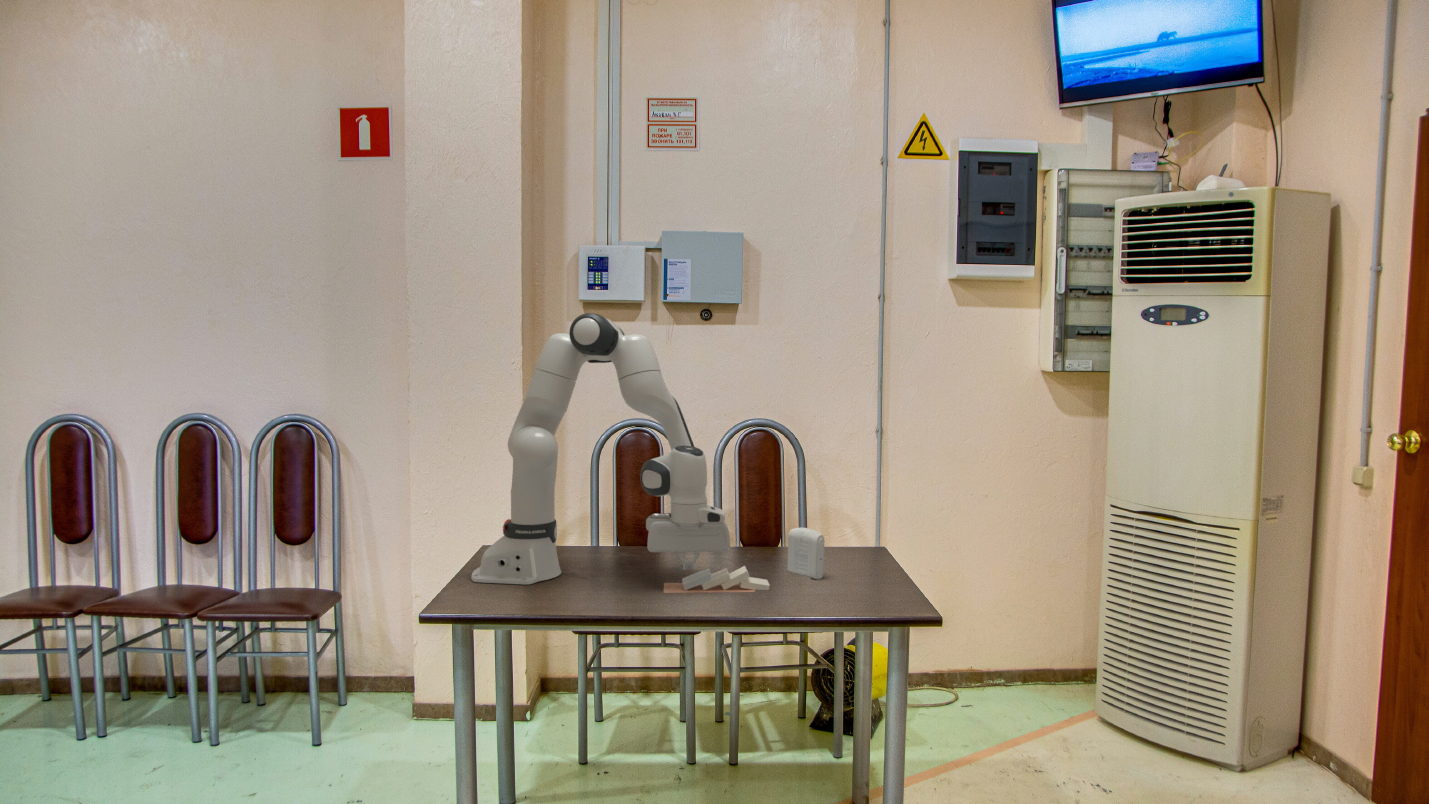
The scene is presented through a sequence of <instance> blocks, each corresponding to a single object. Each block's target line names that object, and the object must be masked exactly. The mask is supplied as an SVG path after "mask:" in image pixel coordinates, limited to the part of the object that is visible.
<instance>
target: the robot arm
mask: <svg viewBox="0 0 1429 804" xmlns="http://www.w3.org/2000/svg"><path fill="white" fill-rule="evenodd" d="M586 362H587V363H590V364H606V363H607V364H608V363H612V364H613V366H614V368H615V371H616V377H617V381H618V383H619V389H620V390H619V391H620V393H621V397H622V398H623V400H624V402H625V404H626V405H627V406H628V407H630V408H631V409H632V410H634V411H635V412H638V413H641V414H643V415H645V416H649V417H650V418H652V419H654V420H655V421H657V422H658V423H659V424H660V426H661V427H662V429H663V431H664V433H665V436H666V439H667V441H668V445H669V447H670V450H671V451H670V452H668V453H666V454H664V455H660V456H658V457H654V458H651V459H648V460H646V461H645V462H644V463H643V465H642V467H641V469H640V473H639V477H640V478H639V479H640V484H641V486H642V489H643V491H644V492H646V493H647V495H649V496H652V497H665V496H668V497H670V512H669V513H652V514H651V515H649V516H647V518H646V519H645V528H646V530H647V532H648V535H647V547H646V548H647V550H648V551H649V552H650V553H678V559H680V561H681V563H682V570H683V571H687V570H690V571H693V570H694V571H695V569H696V567H695V566H696V565H695V564H696V563H697V560H698V559H699V557H700V553H702V552H705V553H707V552H711V553H713V552H718V553H719V552H722V553H723V552H728V551H730V549H731V537H730V531H729V526H728V524H727V522H726V521H725V520H726V513H725V511H724V510H723V509H721V508H718V507H715V506H713V505H708V499H707V494H706V491H707V489H706V488H707V486H708V470H707V469H708V467H707V459H706V455H705V453H704V452H703V450H702V449H700V448H698V447H696V446H695V445H694V441H693V439H692V437H691V434H690V432H689V431H690V430H689V428H688V426H687V422H686V420H685V417H684V415H683V412H682V409H681V407H680V405H679V403H678V401H677V399H676V398H675V396H673V395H672V393H671V392H670V391H669V390H668V387H667V386H666V383H665V381H664V377H663V376H662V374H663V373H662V372H661V367H660V363H659V361H658V358H657V354H656V352H655V350H654V346H653V345H652V342H651V341H650V339H649V338H648V337H647V336H646V335H643V334H639V333H631V334H625V333H624V331H623V330H622V328H620V327H619V326H618V325H617V324H616V323H615V322H613V320H611V319H609V318H607V317H604V316H602V315H601V314H598V313H594V312H586V313H583V314H580V315H578V316H577V317H575V319H574V320H573V321H572V322H571V325H570V326H569V333H564V332H558V333H554V334H552V335H550V337H548V339H547V341H546V342H545V344H544V346H543V347H542V350H541V352H540V354H539V356H538V359H537V361H536V364H535V367H534V369H533V370H534V371H533V373H532V376H531V380H530V382H529V385H528V388H527V391H526V394H525V398H524V399H523V402H522V405H521V407H520V409H519V412H518V413H517V416H516V419H515V421H514V424H513V426H512V428H511V432H510V434H509V436H508V440H507V448H508V452H509V454H510V456H511V458H512V474H511V475H512V477H511V487H510V518H508V519H506V520H505V521H504V523H503V525H502V533H503V536H502V537H500V538H499V539H498V540H495V542H494V543H493V544H491V545H490V546H489V547H488V548H486V550H485V551H484V552H483V555H482V557H481V560H480V566H478V567H477V568H475V569H474V570H473V571H472V573H471V579H470V580H471V581H472V582H474V583H483V584H484V583H486V584H487V583H488V584H491V583H492V584H506V585H507V584H508V585H532V584H536V583H538V582H542V581H547V580H551V579H553V578H556V577H558V576H560V575H561V574H562V569H561V566H560V563H559V559H558V558H559V557H558V553H557V552H558V551H557V545H556V544H557V543H556V542H557V539H558V527H557V526H558V524H557V520H556V518H555V492H556V491H555V488H556V478H557V469H558V458H559V457H558V453H559V445H558V441H557V439H556V437H555V436H556V433H557V431H558V428H559V426H560V424H561V423H562V420H563V417H564V416H565V414H566V413H567V411H568V409H569V404H570V402H571V399H572V395H573V392H574V389H575V386H576V382H577V380H578V376H579V373H580V371H581V369H582V366H584V364H585V363H586ZM685 553H693V558H692V560H686V559H685V557H684V556H685Z"/></svg>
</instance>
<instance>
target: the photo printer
mask: <svg viewBox="0 0 1429 804" xmlns="http://www.w3.org/2000/svg"><path fill="white" fill-rule="evenodd" d="M825 542H826V540H825V536H824V534H821V533H820V532H819V531H817V530H814V529H811V528H808V527H795V528H792V529H790V530H789V532H788V536H787V571H788V572H791V573H794V574H799V575H802V576H805V577H810V578H811V579H813V580H814V579H815V580H821V579H822V578H824V574H825Z"/></svg>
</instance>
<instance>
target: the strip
mask: <svg viewBox="0 0 1429 804" xmlns="http://www.w3.org/2000/svg"><path fill="white" fill-rule="evenodd" d="M692 593H693V594H699V593H700V594H701V593H702V594H703V593H705V594H706V593H710V594H711V593H712V594H715V593H756V590H752V589H745V588H740V585H739V583H737V584H735V585H733V586H732V587H730V588H728V589H726V590H724V589H723V587H722V585H721V584H719V585H716V586H714V587H711V588H709V589H707V590H703V587H702V585H701V584H700V585H698V586H695V587H693V588H690V589H688V590H685V589H684V587H683V582H664V583H663V594H692Z"/></svg>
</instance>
